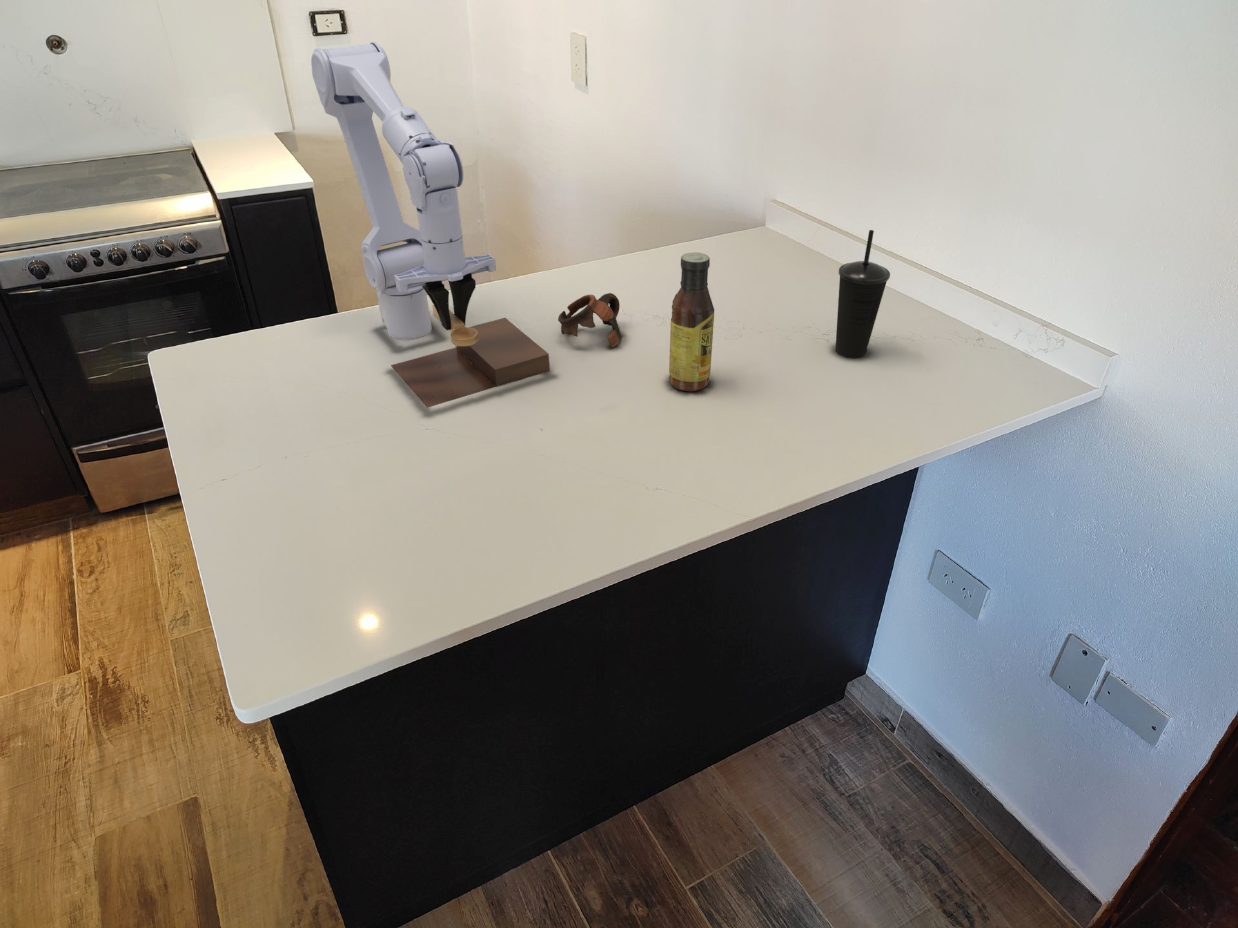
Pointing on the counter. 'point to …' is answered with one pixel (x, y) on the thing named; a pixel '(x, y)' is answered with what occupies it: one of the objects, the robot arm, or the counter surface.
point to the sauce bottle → (691, 326)
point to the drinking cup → (858, 303)
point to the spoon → (460, 331)
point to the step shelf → (475, 364)
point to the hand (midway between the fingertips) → (453, 325)
